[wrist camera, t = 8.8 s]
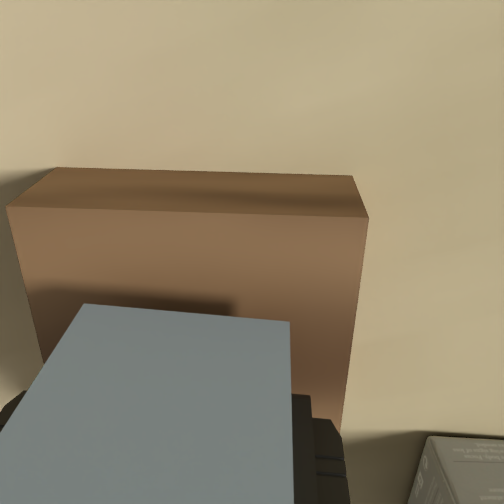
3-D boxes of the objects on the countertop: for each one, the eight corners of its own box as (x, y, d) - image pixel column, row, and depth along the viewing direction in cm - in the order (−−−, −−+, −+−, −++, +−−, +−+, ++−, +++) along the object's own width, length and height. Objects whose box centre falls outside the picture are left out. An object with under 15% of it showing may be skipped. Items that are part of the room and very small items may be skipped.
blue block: (83, 303, 12) (-81, 557, 6) (289, 321, 12) (295, 595, 6) (100, 445, 14) (-11, 718, 9) (271, 461, 14) (265, 746, 9)
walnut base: (61, 163, 15) (5, 206, 12) (350, 171, 15) (369, 217, 12) (100, 381, 19) (66, 454, 16) (326, 391, 19) (334, 468, 16)
